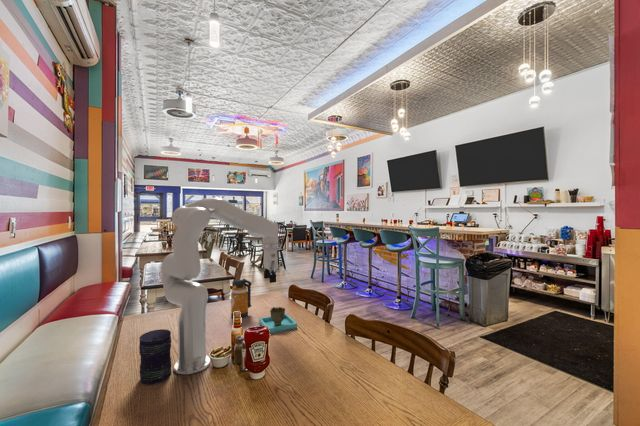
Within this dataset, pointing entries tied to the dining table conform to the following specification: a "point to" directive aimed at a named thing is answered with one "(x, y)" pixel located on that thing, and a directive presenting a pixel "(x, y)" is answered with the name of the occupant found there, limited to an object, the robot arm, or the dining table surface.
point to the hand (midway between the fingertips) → (269, 280)
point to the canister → (241, 297)
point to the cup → (277, 315)
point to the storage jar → (155, 356)
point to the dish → (285, 325)
